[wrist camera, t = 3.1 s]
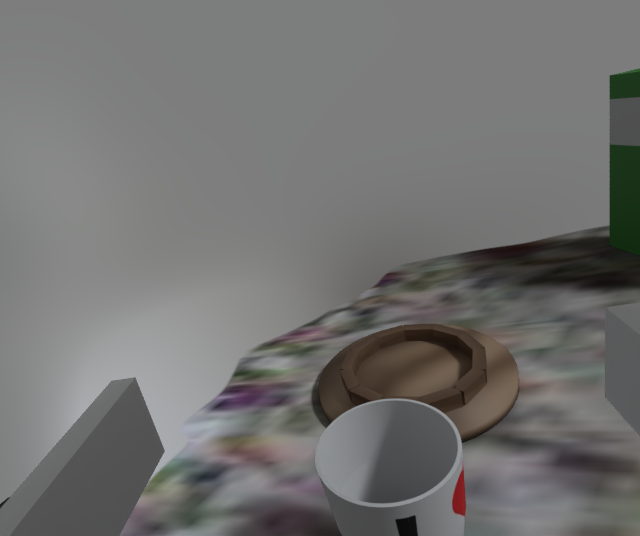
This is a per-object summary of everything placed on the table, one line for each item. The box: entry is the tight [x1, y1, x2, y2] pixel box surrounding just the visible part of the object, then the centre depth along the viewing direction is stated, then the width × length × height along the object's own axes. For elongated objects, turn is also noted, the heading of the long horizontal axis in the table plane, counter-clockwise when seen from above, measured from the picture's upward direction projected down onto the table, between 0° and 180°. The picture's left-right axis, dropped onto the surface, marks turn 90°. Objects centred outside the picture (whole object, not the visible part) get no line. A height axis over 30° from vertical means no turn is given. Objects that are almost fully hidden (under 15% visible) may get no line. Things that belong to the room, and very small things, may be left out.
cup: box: [315, 399, 466, 536], centre depth 26 cm, size 8×8×10 cm
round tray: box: [319, 324, 519, 443], centre depth 46 cm, size 20×20×2 cm
